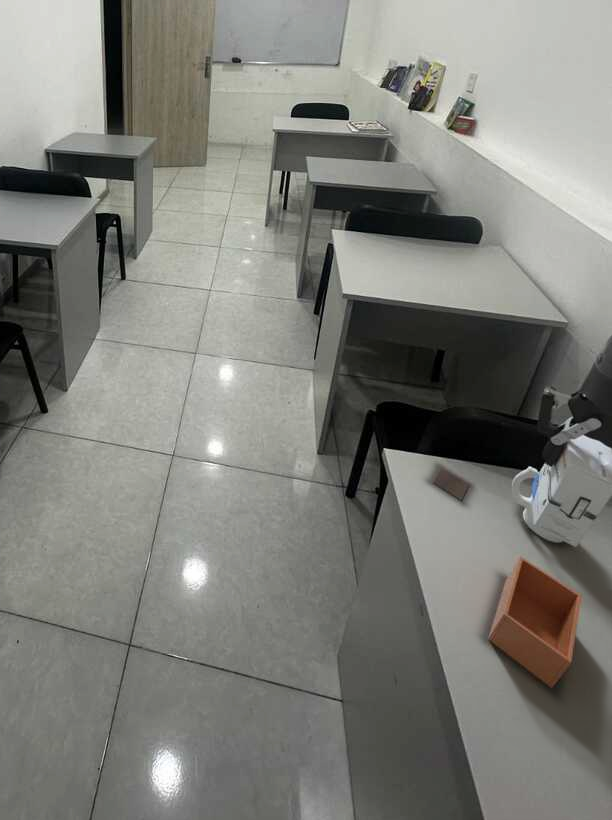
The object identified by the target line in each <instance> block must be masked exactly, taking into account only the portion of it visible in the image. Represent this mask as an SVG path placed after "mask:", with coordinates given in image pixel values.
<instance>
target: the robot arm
mask: <svg viewBox="0 0 612 820" xmlns="http://www.w3.org/2000/svg"><path fill="white" fill-rule="evenodd" d="M563 405H567V406H568V408H569V411H570V414H571V415H572V416H570V417H568V418H567V419H566V420H565V421H564V422H562V423H561V424H559V425H557V426H556V425H555V424H554V423H553V422H552V416H553V411H554V410H559V409H561V407H562V406H563ZM536 430H537V432H538V433H540V434H544V435H545V436H547V438H548V441H547V442H546V445H545V446H544V448H543V450H542V459H543V460H545V462H544V464H546V465H548V466H550V467H552V466H553V464H554V462H555V460H556V459H557V457H558V455H559V453H560V452H561V450H562V447H563V443H565V442H567V441H569V440H571V439H573V440H574V439H576V438H578V437H580V436H582V435H584V436H586V437H588V438H590V439H594V440H597V441H600V442H601V443H603V444H604V445H606V446H607V447H609V448H611V449H612V335H611V336H609V338H608V339H607V340H606V341H605V343H604V344H603V346H602V348H601V350H600V351H599V353H598V355H597V357H596V359H595V360H594V363H593V365H592V366H591V368H590V370H589V371H588V374H587V375H586V377H585V378H584V381H583V383H582V384H581V385H580V388H579V389H578V390H577V391H575V392H573V393H571V394H566V393H563V392H560V391H557V389H556V388H555V387H554V386H552V385H547V386H545V387H544V389H543V392H542V395H541V400H540V405H539V412H538V417H537V421H536Z"/></svg>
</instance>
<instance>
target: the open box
mask: <svg viewBox="0 0 612 820" xmlns="http://www.w3.org/2000/svg"><path fill="white" fill-rule="evenodd" d="M581 603H582V594H579V593H578V592H577V591H575V590H573V589H572V588H570V587H569V586H567V585H565V584H564V583H562V582H561V581H560V580H558V579H557V578H555V577H553V576H552V575H550V574H549V573H547V572H546V571H544V570H543V569H541V568H540V567H538V566H537V565H535V564H534V563H532V562H531V561H529V560H527V559H525V558H524V557H523V556H521V555H520V556H519V557H518V559H517V561H516V562H515V565H514V566H513V568H512V570H511V571H510V573H509V574H508V576H507V577H506V580H505V582H504V585H503V589H502V592H501V595H500V598H499V602H498V605H497V608H496V611H495V615H494V618H493V621H492V622H493V623H492V625H491V628H490V631H489V635H488V637H487V638H488V639H487V640H488V641H489V642H491V643H492V644H494V645H495V646H496V647H498V648H499V649H500V650H501V651H503V652H504V653H505V654H507V655H508V656H509V657H511V658H512V659H513V660H514V661H516V662H517V663H518V664H520V665H521V666H522V667H524V668H525V669H526V670H527V671H529V672H530V673H532V675H535V677H537V678H538V679H539V680H540V681H542V682H543V683H545V684H546V685H547V686H548V687H550V688H551V689H552V688H553V687H554V686H555V685H556V684H557V682H558V681H559V680H560V679H561V678H562V676H563V674H564V673H565V672H566V670H567V669H568V668H569V667H570V666H571V664H572V661H573V653H574V647H575V643H576V642H575V641H576V634H577V627H578V622H579V615H580V608H581Z"/></svg>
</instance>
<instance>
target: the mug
mask: <svg viewBox="0 0 612 820" xmlns="http://www.w3.org/2000/svg"><path fill="white" fill-rule="evenodd" d="M539 472H540V471H538V469H537V468H534V467H532V466H528V467H527V468H526V469H524V470H522V471H520V472H519V473H517V474H516V475H515V476H514V478H513V480H512V482H511V491H512V497H513V501H514V503H515V504H518V505H520V506H522V507H524V510H523V512H522V517H523V520H524V522H525V524H526V525H527V526H528V527H529V528H530V529H531V530H532V531H533V532H534V533H535V534H537V535H538V536H540V537H541V538H542V539H544V540H547V541H549V542H552V543H563V542H564V541H563V540H561V539H559V538H557V537H555V536H553V535H551V534H549V533H547V532H545V531H543V530H541V529H539V528H537V527H535V526H534V521H533V495H532V494H531V496H530V497H527V496H524V495H522V493H521V492H520V486H521V484H522V482H524V480H526V479H534V480H535V479H536V477H537V475H538V474H539Z"/></svg>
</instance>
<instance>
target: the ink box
mask: <svg viewBox="0 0 612 820" xmlns="http://www.w3.org/2000/svg"><path fill="white" fill-rule="evenodd" d="M538 472H539V474H538V475H537V477H536V479H535V478H534V480H533V482H532V484H531V488H532V489H531V496H532V495H533V521H534V526H535V527H537V528H539V529H541V530H543V531H545V532H547V533H549V534H551V535H553V536H555V537H557V538H559V539H561V540H563V542H565V543H567V544H568V545H570V546H572V547H575V548H576V547H578V545H579V544H580V543H581V541H582V540H583V538H584V536H585V535H586V533H587V532H588V531H589V530H590V528H591V526H592V525H593V523H594V522H595V521H596V520H597V518H598V516H600V513H601V512H602V510H603V509H604V507H605V506H606V505H607V503H608V502H609V501H610V498H611V497H612V449H611V448H609V447H607V446H606V445H604V444H603V443H601V442H600V441H597V440H594V439H590V438H588V437H586V436H584V435H582V436H580V437H578V438H576V439H574V440H573V439H571V440H569V441H567V442H565V443H563V447H562V450H561V452H560V453H559V455H558V457H557V459H556V460H555V462H554V464H553V466H552V467H550V466H548V465H546V464H545V463H544V464H543V465H542V467H541V468H540V471H538Z"/></svg>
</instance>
